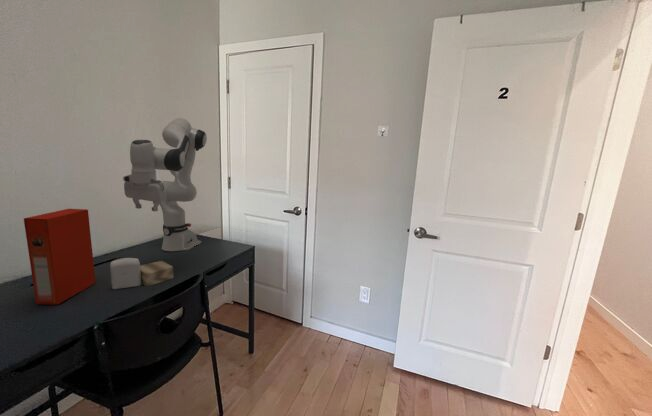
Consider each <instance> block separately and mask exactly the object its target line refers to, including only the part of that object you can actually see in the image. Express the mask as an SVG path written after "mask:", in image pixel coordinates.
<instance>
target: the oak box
mask: <svg viewBox="0 0 652 416" xmlns="http://www.w3.org/2000/svg"><path fill="white" fill-rule="evenodd" d="M140 271H141V284H142V285H144V286H145V287H150V286H153V285H156V284H159V283H163V282H165V281H168V280H172V279H174V266H173V265H171V264H169V263H167V262H165V261H163V260H159V261H154V262H149V263H146V264H140Z"/></svg>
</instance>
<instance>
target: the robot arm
mask: <svg viewBox="0 0 652 416" xmlns="http://www.w3.org/2000/svg"><path fill="white" fill-rule="evenodd" d="M161 134H162V136H161V137H162V139H163V141H164V142H165V144H167V145H168V146H169V147H170V148H158V147H155V146H154V143H153V142H152V141H151V140H149V139H135V140H132V141H131V142H130V146H129V147H130V148H129V155H130V156H129V158H130V159H129V160H130V163H131V173H129V174H128V175H124V176H123V177H122V180H123V182H124V184H123V190H124V195H125V197H126V198H129V199H132V202H133V204H134V205H135V207H134V208H135V209H137V210H138V209H142V207H143V206H142V203H140V200H141V201H142V200H143V201H149V202H152V204H153V206H152V207H151V211H152V212H158V210H159V209H158V207H159V206H160V208H161V212H162V217H163V224H162V231H163V237H162V243H161V250H162V251H164V252H165V251H166V252H179V251H189V250H191V249H193V248H195V247H196V245H197V246H198V244H199V245H201V244H202V241H201V240H200V239H198V236H197V233H196V232H194V231H192V230H191V229H189V228H191V226H192V223H188V222H187V223H186V212H185V209H184V208H183V207H181V206H180V204H178V202H182V203H184V202H193V200H195V198H196V197H197V192H198V191H197V188H196V186H195V185H194V184H193V182H192V180H191V174H192V171H193V166H194V163H195V158H196V153H197V152H198V151H199V150H201V149H203V148H204V147H205V146H206V144H207V133H206V132H205V131H203V130H201V129H197V128H195V127H192V125H191V123H190V122H189V121H188V120H187V119H185V118H182V117H180V118H175V119H174V120H172V121H170V122H168V124H167V125H166V126H165V127H164V128H163V130H162V133H161ZM156 170H159V171H161V170H162V171H169V172H170V174H171V175H172V176H173V177H174V180H173V181H172V180H171V181H169V180H159V179H158V180H157V171H156ZM194 246H195V247H194Z"/></svg>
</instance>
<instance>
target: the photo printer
mask: <svg viewBox="0 0 652 416" xmlns="http://www.w3.org/2000/svg"><path fill="white" fill-rule="evenodd" d="M140 266H141V263H140V259H139V258H136V257H135V258H134V257H123V258H117V259H114V260H113V261H111V262H110V266H109V271H110V283H111V288H112V290H119V289H127V288H132V287H140V286H141V285H142V283H141V271H140Z"/></svg>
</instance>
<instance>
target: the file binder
mask: <svg viewBox="0 0 652 416" xmlns="http://www.w3.org/2000/svg"><path fill="white" fill-rule="evenodd" d="M23 223H24V231H25V239H26V244H27V250H28V258H29V264H30V271H31V275H32V284H33V291H34V296H35V297H34V298H35V304H36V305H54V306H57V305H60V304H61V303H63V302H64V301H66V300H68V299H70V298H72V297H74V296H75V295H77V294H79V293H80V292H82V291H84V290H86V289H87V288H89V287H91V286H92V285H94V284H96V275H95V273H96V272H95V265H94V253H93V247H92V246H93V245H92V238H91V237H92V236H91V228H90V227H91V225H90V215H89V209H83V208H66V209H61V210H56V211H52V212H48V213H47V212H46V213H43V214H37V215H33V216H29V217H24V218H23Z"/></svg>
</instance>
